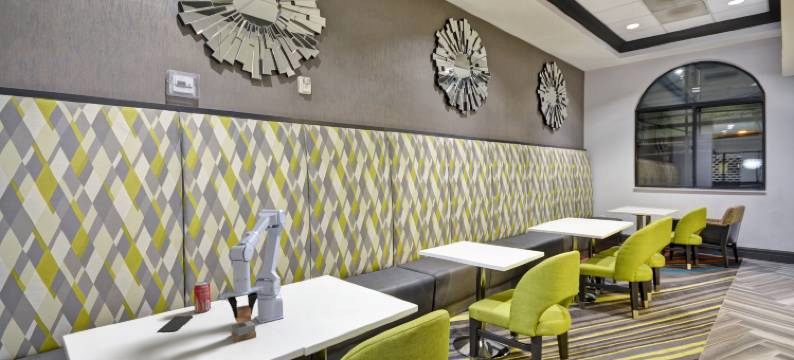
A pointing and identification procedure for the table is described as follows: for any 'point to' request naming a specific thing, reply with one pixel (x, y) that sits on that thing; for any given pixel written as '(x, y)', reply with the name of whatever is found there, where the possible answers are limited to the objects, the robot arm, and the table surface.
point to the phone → (175, 324)
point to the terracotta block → (243, 314)
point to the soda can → (202, 297)
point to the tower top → (243, 328)
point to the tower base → (243, 336)
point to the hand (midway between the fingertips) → (242, 315)
